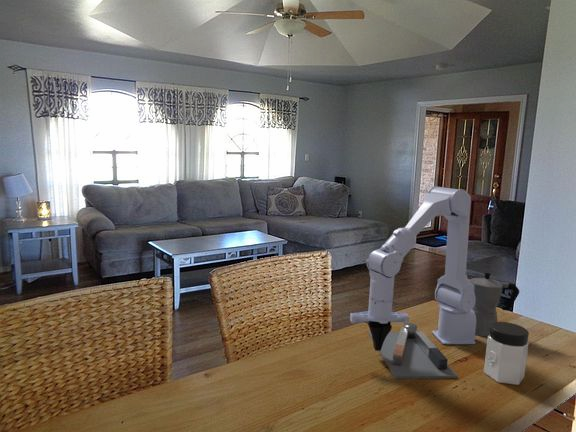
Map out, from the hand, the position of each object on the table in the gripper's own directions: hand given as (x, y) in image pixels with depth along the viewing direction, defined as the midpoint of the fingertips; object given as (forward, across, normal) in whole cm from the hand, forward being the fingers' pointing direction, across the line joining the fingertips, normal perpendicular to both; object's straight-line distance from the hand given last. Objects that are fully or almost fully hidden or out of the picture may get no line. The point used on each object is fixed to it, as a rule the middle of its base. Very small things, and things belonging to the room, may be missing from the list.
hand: (377, 348), depth 110 cm
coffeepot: (+3, +38, +16) cm, 41 cm away
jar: (+3, +29, -9) cm, 30 cm away
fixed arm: (+2, +14, +1) cm, 14 cm away
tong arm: (+2, +9, +4) cm, 10 cm away
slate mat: (+2, +9, +2) cm, 10 cm away
